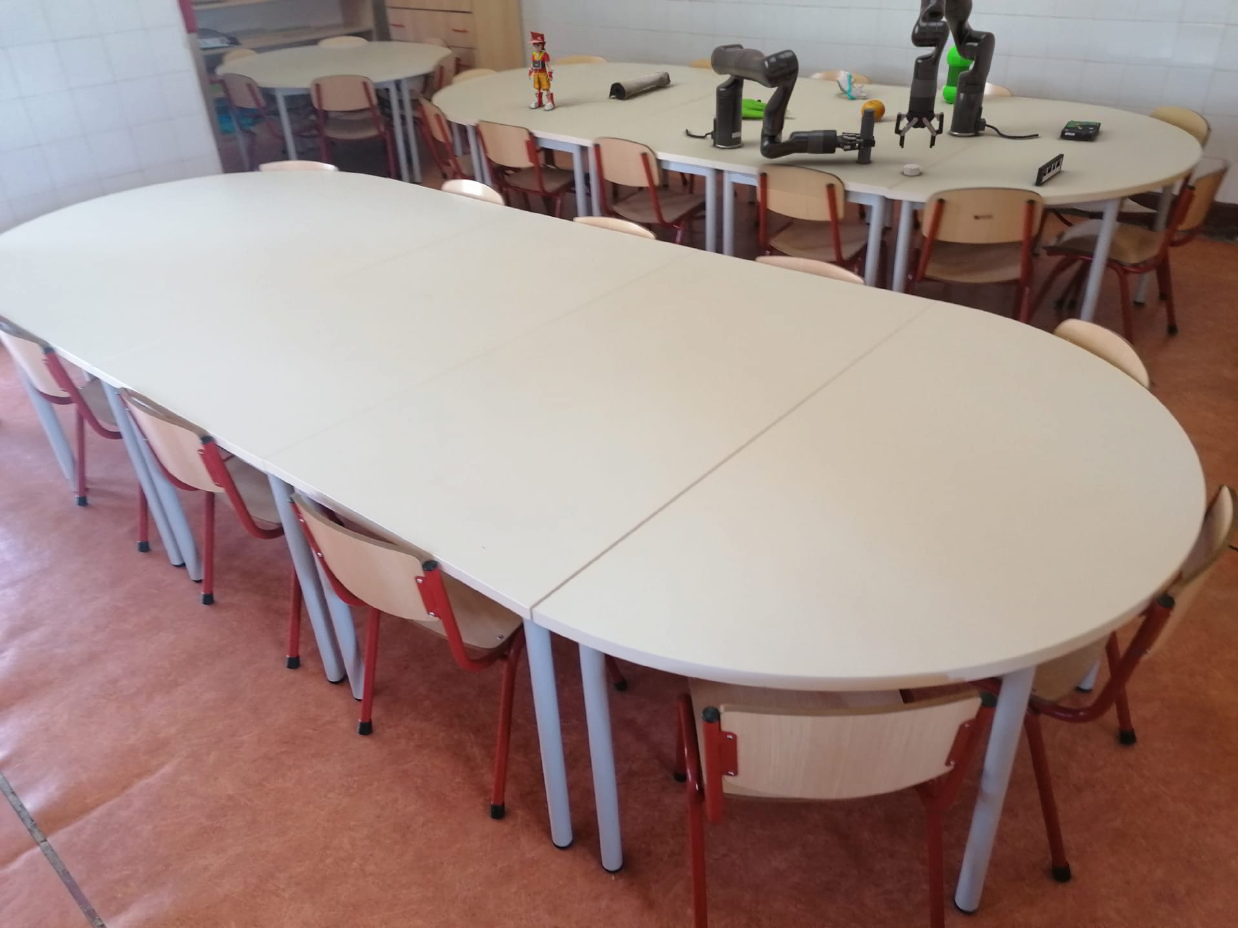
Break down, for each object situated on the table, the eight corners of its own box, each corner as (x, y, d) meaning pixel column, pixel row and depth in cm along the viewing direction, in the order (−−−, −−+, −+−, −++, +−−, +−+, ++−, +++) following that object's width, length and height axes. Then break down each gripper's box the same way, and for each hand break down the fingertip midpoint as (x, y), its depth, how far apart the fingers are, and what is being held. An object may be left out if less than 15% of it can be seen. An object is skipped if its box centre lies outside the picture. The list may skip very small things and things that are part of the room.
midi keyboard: (1039, 185, 269) (1043, 168, 266) (1035, 184, 270) (1038, 168, 267) (1060, 170, 279) (1064, 154, 277) (1056, 169, 280) (1060, 153, 277)
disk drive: (1092, 142, 302) (1099, 130, 312) (1094, 133, 301) (1101, 122, 311) (1059, 139, 307) (1067, 127, 317) (1061, 130, 305) (1069, 119, 316)
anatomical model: (832, 71, 373) (856, 64, 372) (834, 96, 379) (858, 90, 378) (842, 79, 360) (867, 72, 360) (845, 105, 366) (869, 98, 366)
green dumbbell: (973, 101, 354) (984, 32, 339) (955, 106, 349) (966, 36, 335) (952, 97, 361) (962, 29, 346) (934, 102, 356) (944, 33, 342)
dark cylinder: (872, 162, 297) (878, 110, 288) (863, 164, 295) (868, 112, 286) (864, 159, 300) (869, 108, 291) (854, 161, 299) (859, 110, 289)
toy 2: (706, 117, 350) (777, 129, 338) (708, 103, 348) (779, 115, 335) (737, 106, 371) (804, 117, 358) (738, 93, 368) (807, 104, 355)
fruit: (856, 112, 335) (869, 93, 332) (858, 116, 343) (871, 96, 340) (874, 125, 334) (888, 105, 331) (876, 128, 342) (889, 109, 339)
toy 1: (525, 109, 381) (517, 32, 364) (534, 104, 388) (527, 28, 371) (550, 110, 377) (543, 32, 360) (559, 105, 384) (553, 28, 367)
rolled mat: (651, 76, 408) (662, 61, 399) (662, 93, 408) (674, 79, 400) (605, 92, 391) (616, 77, 383) (617, 110, 391) (628, 95, 383)
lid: (900, 173, 286) (901, 165, 285) (912, 170, 288) (913, 163, 287) (910, 176, 283) (911, 169, 281) (922, 174, 284) (923, 166, 283)
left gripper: (823, 136, 288) (877, 135, 286) (821, 124, 300) (874, 123, 297) (821, 160, 293) (875, 159, 290) (819, 147, 304) (871, 147, 302)
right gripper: (947, 90, 273) (939, 144, 282) (898, 90, 276) (892, 144, 285) (948, 96, 267) (940, 151, 276) (898, 96, 270) (892, 151, 279)
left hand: (874, 141), depth 294 cm, fingers closed on dark cylinder, 4 cm apart
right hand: (916, 147), depth 281 cm, fingers open, 8 cm apart
